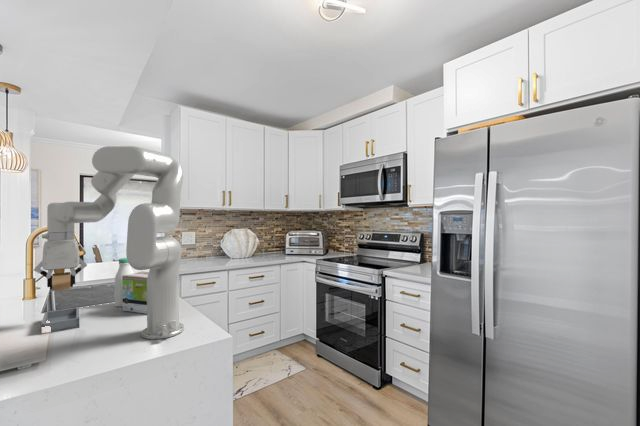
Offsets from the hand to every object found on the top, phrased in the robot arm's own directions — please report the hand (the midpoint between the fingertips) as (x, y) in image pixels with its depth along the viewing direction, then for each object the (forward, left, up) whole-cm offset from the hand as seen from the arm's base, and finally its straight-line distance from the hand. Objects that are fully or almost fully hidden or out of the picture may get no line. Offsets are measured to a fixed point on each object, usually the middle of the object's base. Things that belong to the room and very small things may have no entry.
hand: (61, 287), depth 113 cm
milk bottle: (+14, -21, -13) cm, 29 cm away
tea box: (0, -27, -14) cm, 30 cm away
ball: (0, 0, +5) cm, 5 cm away
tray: (0, 0, -13) cm, 13 cm away
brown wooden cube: (0, 0, 0) cm, 0 cm away
